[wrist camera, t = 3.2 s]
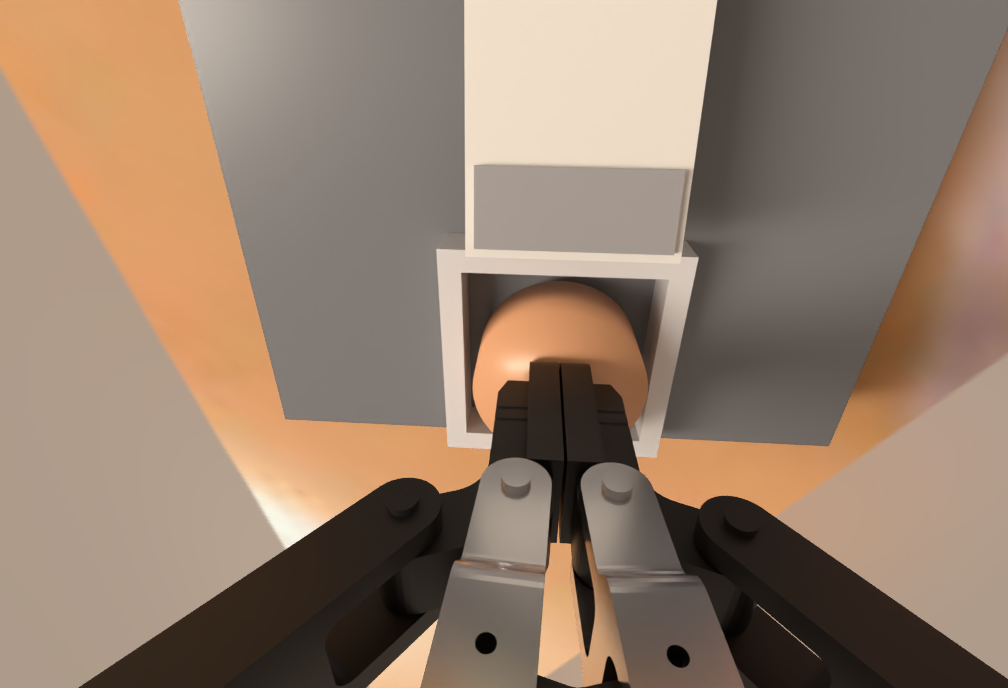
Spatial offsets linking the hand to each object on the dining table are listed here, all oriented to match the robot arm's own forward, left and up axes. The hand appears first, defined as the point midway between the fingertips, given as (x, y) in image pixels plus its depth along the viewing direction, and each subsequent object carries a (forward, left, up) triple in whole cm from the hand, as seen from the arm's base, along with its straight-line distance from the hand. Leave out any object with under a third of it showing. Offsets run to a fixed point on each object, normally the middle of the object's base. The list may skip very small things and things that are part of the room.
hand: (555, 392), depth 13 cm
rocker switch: (0, -7, -1) cm, 7 cm away
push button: (0, 0, -2) cm, 2 cm away
